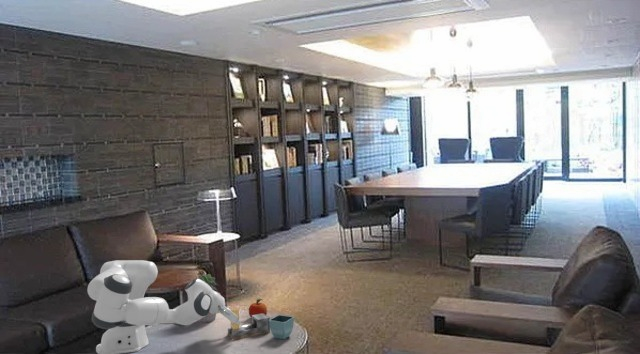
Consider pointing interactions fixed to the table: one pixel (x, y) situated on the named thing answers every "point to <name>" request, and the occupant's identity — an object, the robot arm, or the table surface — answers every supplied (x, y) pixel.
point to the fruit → (257, 308)
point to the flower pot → (281, 326)
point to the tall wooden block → (235, 326)
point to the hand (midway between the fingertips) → (236, 320)
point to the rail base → (259, 327)
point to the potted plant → (212, 284)
